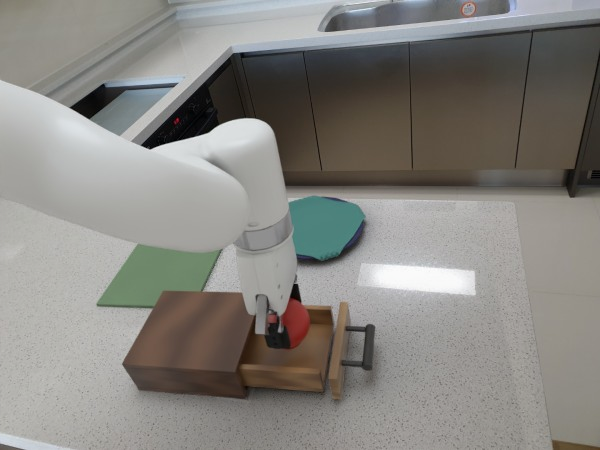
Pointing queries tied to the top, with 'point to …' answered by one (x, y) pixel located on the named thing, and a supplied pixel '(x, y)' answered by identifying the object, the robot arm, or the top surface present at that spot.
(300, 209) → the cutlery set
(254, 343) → the drawer
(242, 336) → the cabinet
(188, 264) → the mat
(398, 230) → the top surface
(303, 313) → the apple
